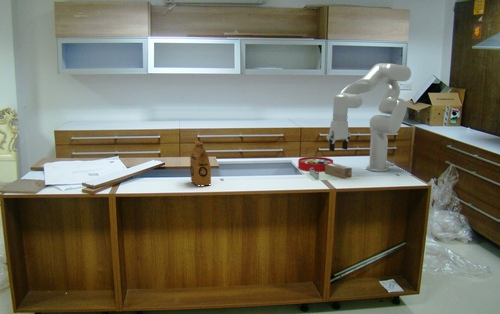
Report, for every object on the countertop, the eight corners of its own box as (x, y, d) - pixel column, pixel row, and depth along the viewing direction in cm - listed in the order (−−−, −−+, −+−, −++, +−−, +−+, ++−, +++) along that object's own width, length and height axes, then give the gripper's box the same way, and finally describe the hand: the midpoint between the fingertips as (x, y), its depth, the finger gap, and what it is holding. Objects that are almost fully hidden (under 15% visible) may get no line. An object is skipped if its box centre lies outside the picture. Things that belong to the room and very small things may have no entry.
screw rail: (312, 173, 254) (312, 167, 253) (320, 179, 242) (320, 172, 241) (308, 173, 254) (308, 167, 253) (315, 179, 241) (315, 173, 240)
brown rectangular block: (332, 171, 257) (333, 162, 256) (351, 177, 246) (351, 167, 245) (324, 173, 254) (325, 164, 253) (343, 178, 243) (344, 169, 241)
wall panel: (348, 173, 259) (348, 171, 259) (359, 180, 244) (359, 178, 244) (303, 175, 255) (303, 173, 255) (312, 182, 240) (312, 180, 239)
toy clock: (296, 156, 276) (330, 156, 276) (296, 166, 278) (330, 166, 277) (299, 164, 257) (335, 164, 256) (299, 174, 258) (335, 174, 258)
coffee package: (194, 187, 231) (192, 144, 227) (189, 181, 243) (187, 140, 238) (213, 186, 234) (212, 143, 230) (207, 180, 246) (206, 139, 241)
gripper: (346, 116, 251) (344, 147, 255) (323, 118, 241) (321, 150, 245) (356, 117, 245) (354, 149, 249) (333, 119, 235) (331, 152, 239)
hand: (338, 150), depth 247 cm, fingers open, 9 cm apart
